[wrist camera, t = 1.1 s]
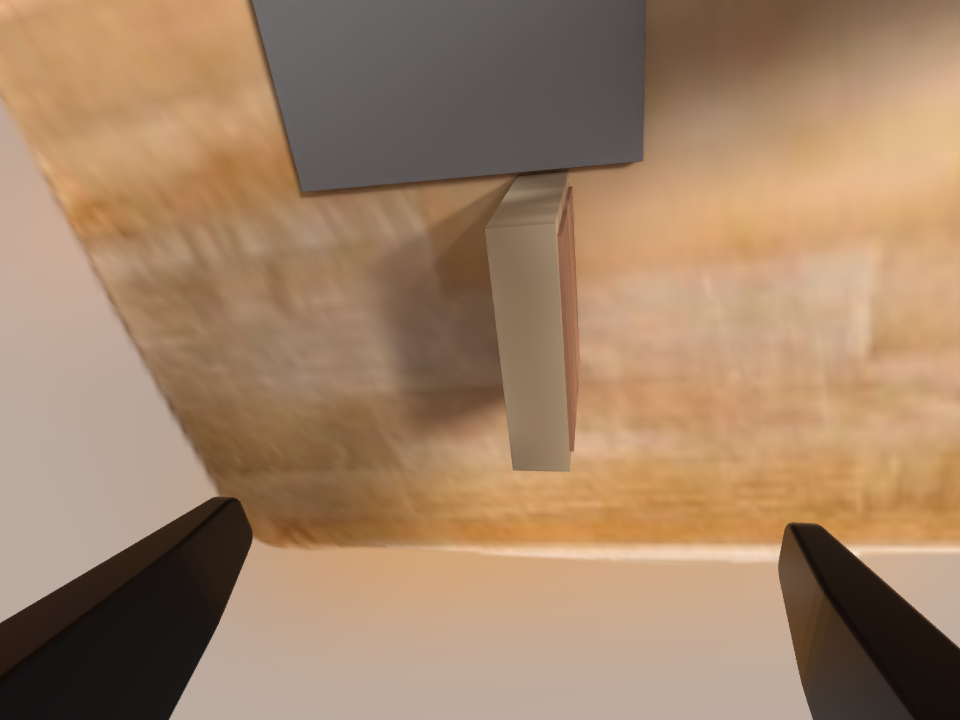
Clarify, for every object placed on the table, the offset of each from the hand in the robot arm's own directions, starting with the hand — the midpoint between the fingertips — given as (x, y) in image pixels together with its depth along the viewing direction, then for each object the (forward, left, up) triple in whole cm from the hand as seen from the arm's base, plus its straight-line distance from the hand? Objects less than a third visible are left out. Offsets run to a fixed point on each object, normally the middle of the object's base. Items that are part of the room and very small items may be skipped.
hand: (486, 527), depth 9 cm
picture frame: (0, 0, -12) cm, 12 cm away
